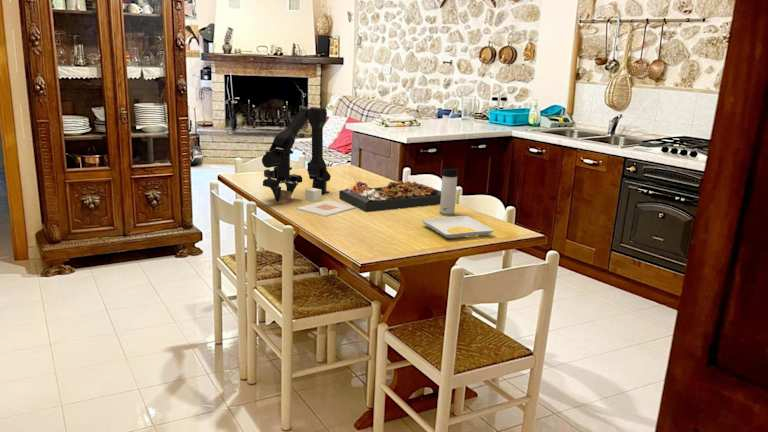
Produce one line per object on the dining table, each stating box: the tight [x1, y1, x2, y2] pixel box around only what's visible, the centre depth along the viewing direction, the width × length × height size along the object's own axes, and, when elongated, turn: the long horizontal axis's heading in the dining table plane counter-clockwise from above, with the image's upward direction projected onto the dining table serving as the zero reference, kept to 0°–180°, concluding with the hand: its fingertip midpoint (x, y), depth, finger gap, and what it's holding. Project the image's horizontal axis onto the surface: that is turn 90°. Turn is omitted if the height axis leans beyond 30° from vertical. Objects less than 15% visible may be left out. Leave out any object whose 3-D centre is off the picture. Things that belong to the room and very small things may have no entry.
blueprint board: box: [296, 199, 357, 218], centre depth 265 cm, size 20×16×1 cm
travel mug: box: [439, 168, 459, 216], centre depth 264 cm, size 6×7×20 cm
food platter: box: [338, 177, 441, 213], centre depth 283 cm, size 45×25×10 cm, turn 121°
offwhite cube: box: [305, 187, 322, 203], centre depth 278 cm, size 5×5×5 cm
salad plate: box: [421, 215, 494, 239], centre depth 241 cm, size 21×21×3 cm
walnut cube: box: [274, 189, 292, 205], centre depth 271 cm, size 5×5×5 cm
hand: (282, 200), depth 271 cm, fingers open, 6 cm apart
